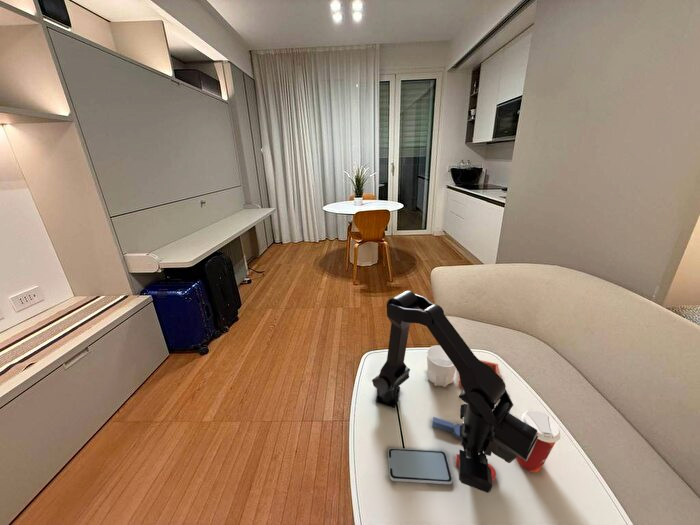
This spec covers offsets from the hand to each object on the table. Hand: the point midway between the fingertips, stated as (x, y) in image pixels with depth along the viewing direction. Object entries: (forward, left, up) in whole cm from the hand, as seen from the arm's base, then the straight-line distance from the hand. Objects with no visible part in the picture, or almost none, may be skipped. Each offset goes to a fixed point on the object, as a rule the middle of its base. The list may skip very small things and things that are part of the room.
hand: (468, 464), depth 66 cm
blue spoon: (-5, +8, -1) cm, 10 cm away
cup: (-9, +27, -1) cm, 28 cm away
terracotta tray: (+4, +31, -1) cm, 32 cm away
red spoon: (+2, 0, -1) cm, 2 cm away
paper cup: (+14, +7, -1) cm, 16 cm away
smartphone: (-12, -4, -1) cm, 12 cm away
